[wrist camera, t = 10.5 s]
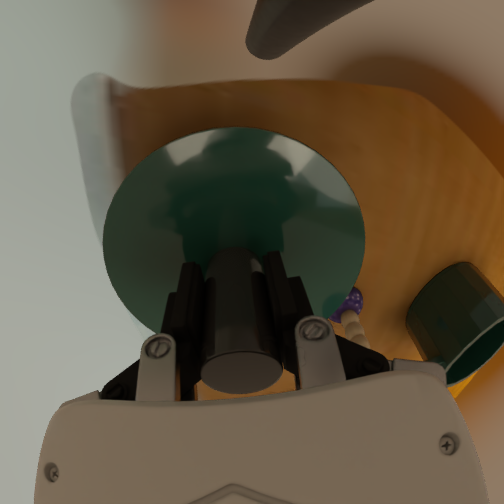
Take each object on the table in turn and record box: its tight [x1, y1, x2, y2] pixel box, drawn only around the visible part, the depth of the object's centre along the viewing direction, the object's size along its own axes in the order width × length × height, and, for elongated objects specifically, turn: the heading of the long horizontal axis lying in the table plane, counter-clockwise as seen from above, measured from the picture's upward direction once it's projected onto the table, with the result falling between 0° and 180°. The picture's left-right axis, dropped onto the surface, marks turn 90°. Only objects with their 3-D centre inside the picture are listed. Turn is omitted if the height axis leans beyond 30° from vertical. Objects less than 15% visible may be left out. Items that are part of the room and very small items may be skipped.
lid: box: [103, 126, 365, 394], centre depth 11 cm, size 14×14×7 cm
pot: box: [406, 262, 504, 387], centre depth 25 cm, size 13×18×10 cm
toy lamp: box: [329, 288, 370, 349], centre depth 20 cm, size 5×5×17 cm
